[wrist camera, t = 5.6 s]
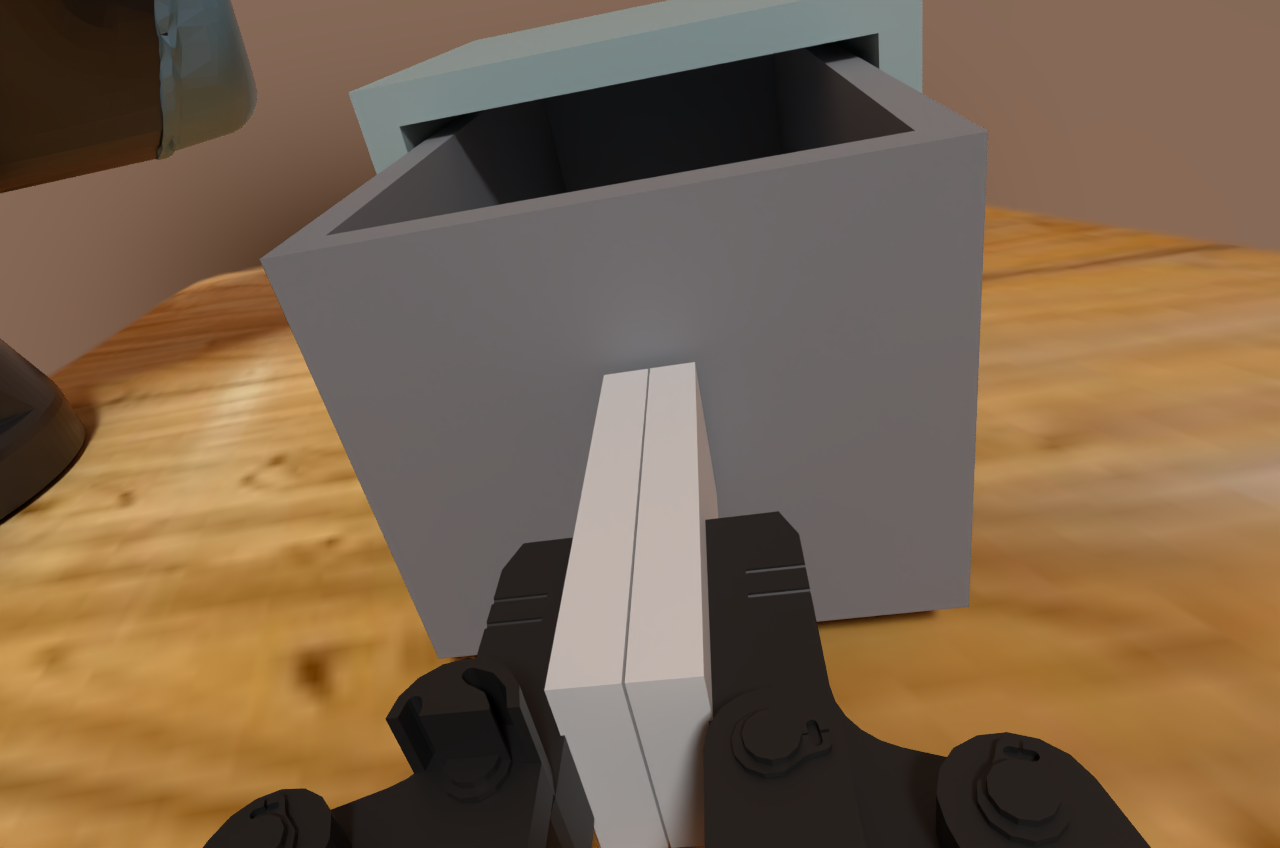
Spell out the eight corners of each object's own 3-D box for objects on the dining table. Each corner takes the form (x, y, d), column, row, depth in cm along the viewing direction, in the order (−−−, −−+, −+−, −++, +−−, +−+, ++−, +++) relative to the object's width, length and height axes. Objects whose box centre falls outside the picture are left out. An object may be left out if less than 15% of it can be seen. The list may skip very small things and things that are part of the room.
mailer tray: (968, 606, 16) (988, 131, 11) (438, 658, 17) (259, 259, 12) (805, 236, 36) (787, 17, 31) (571, 274, 38) (522, 70, 33)
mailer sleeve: (922, 423, 24) (922, -24, 18) (483, 479, 26) (347, 92, 20) (841, 266, 36) (824, -33, 30) (546, 312, 38) (475, 40, 32)
